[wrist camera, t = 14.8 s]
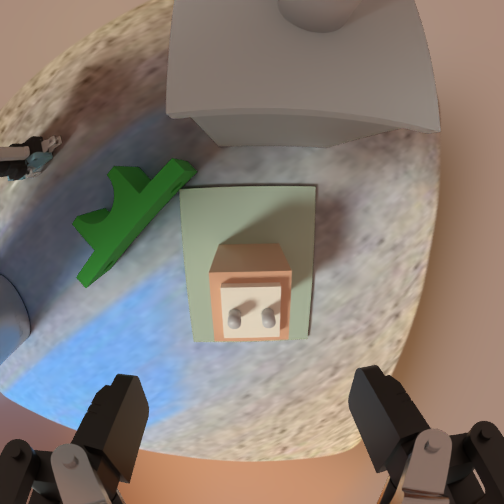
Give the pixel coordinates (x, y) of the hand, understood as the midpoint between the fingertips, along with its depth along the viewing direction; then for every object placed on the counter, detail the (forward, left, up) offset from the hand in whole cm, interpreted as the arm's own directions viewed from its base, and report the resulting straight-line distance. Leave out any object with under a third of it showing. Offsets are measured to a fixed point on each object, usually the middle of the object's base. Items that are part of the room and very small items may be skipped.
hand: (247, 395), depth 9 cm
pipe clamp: (-9, +5, -14) cm, 17 cm away
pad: (0, 0, -13) cm, 13 cm away
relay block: (0, 0, -13) cm, 13 cm away
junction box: (+2, +13, -13) cm, 19 cm away
